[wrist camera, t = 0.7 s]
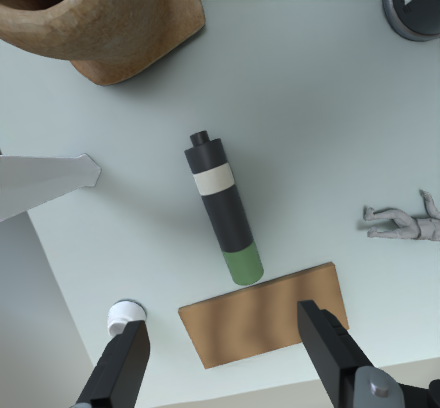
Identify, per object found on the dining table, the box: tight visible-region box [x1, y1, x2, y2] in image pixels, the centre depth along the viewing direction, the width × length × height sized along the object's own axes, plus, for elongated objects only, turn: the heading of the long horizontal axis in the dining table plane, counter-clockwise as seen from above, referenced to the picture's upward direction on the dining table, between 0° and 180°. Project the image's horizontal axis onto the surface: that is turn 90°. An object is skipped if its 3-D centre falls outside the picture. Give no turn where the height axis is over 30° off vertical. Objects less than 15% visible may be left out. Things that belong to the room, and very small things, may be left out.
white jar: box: [108, 301, 146, 338], centre depth 29 cm, size 5×3×5 cm
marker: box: [184, 131, 264, 285], centre depth 24 cm, size 18×4×4 cm, turn 19°
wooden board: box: [178, 262, 349, 369], centre depth 30 cm, size 22×11×1 cm, turn 109°
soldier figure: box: [364, 191, 440, 241], centre depth 25 cm, size 8×5×12 cm
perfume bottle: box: [0, 154, 101, 221], centre depth 17 cm, size 5×4×15 cm
